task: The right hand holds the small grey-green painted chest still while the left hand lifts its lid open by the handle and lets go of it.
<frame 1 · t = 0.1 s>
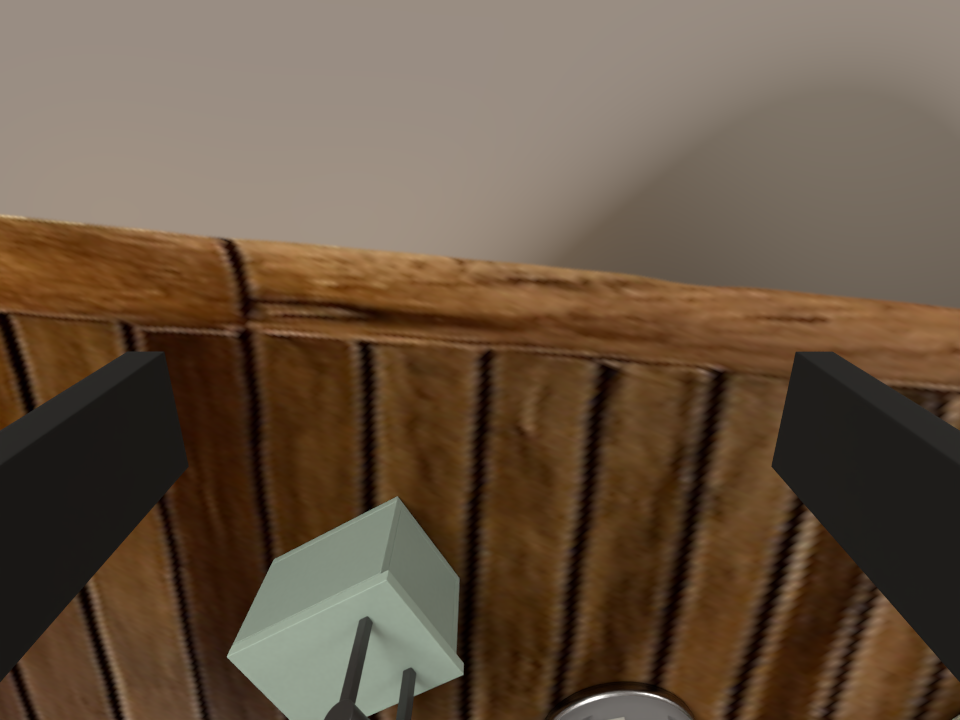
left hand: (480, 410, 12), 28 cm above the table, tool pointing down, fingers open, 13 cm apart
lid: (333, 715, 36), point 13 cm above the table, hinge at 0.0°
chest: (367, 568, 49), on the table
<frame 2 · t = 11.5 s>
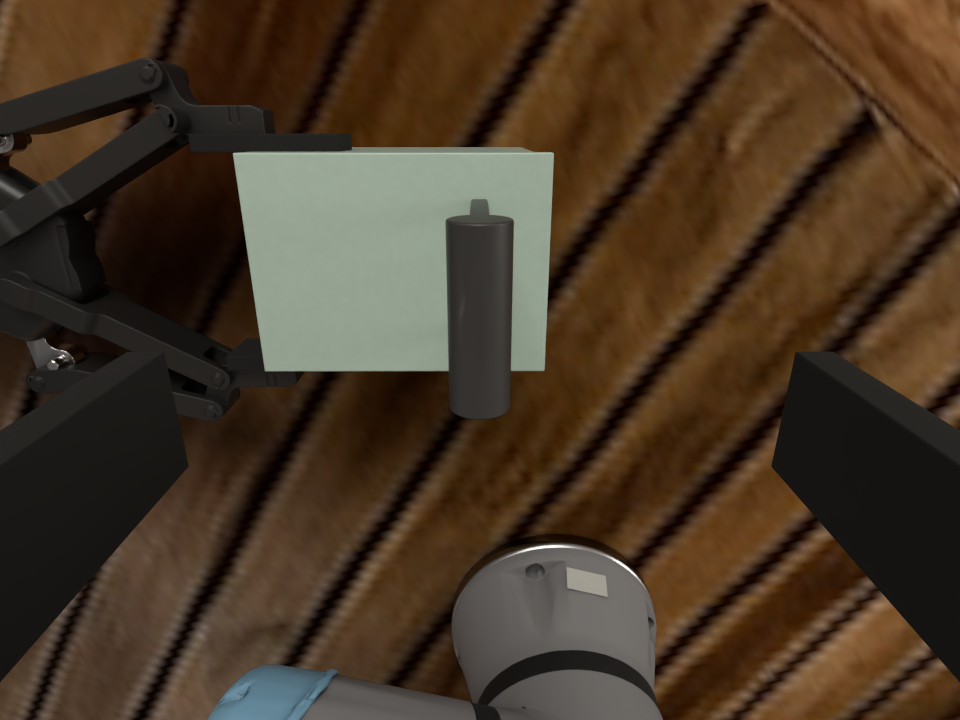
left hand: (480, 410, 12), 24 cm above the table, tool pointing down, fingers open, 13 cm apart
right hand: (354, 255, 28), fingers closed on chest, 10 cm apart
lid: (387, 290, 22), point 13 cm above the table, hinge at 0.0°
chest: (414, 233, 34), on the table, touching right hand
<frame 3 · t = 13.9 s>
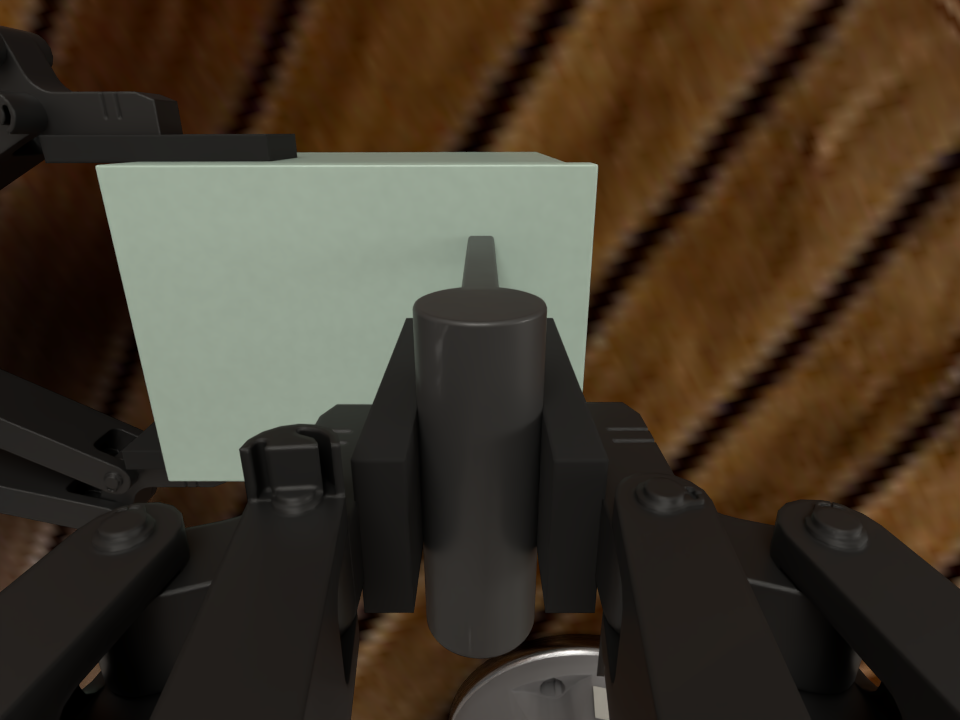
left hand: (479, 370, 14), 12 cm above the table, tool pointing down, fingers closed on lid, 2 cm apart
lid: (329, 392, 13), point 13 cm above the table, hinge at 0.4°, touching left hand
chest: (394, 266, 26), on the table, touching right hand
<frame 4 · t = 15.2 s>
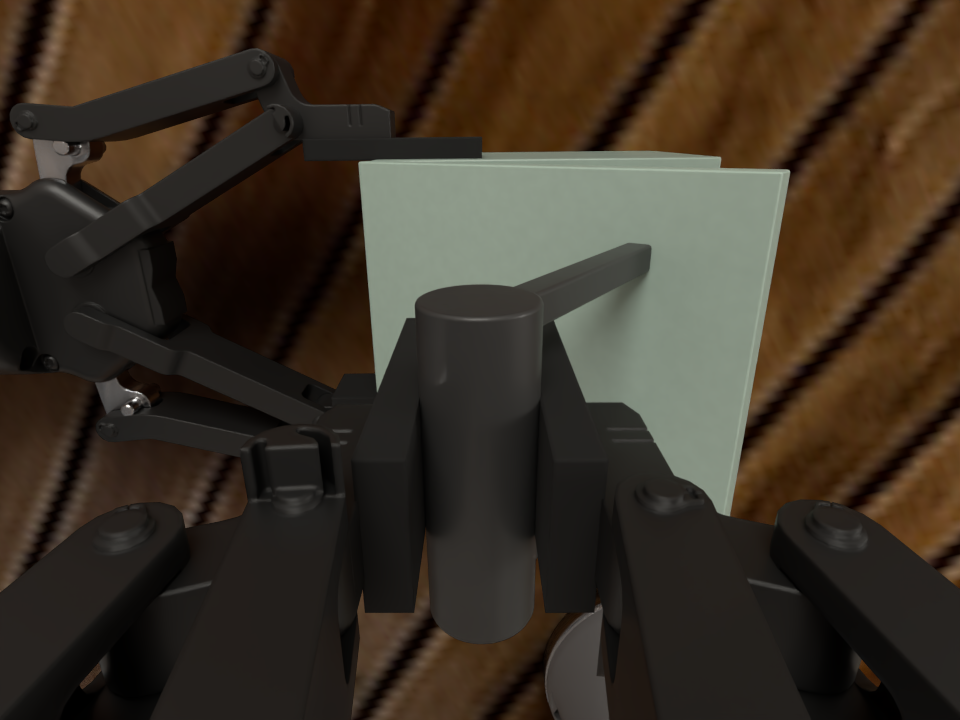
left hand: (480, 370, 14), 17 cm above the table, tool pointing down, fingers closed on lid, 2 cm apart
right hand: (482, 278, 24), fingers closed on chest, 10 cm apart
lid: (448, 367, 15), point 16 cm above the table, hinge at 35.7°, touching left hand
chest: (524, 249, 30), on the table, touching right hand
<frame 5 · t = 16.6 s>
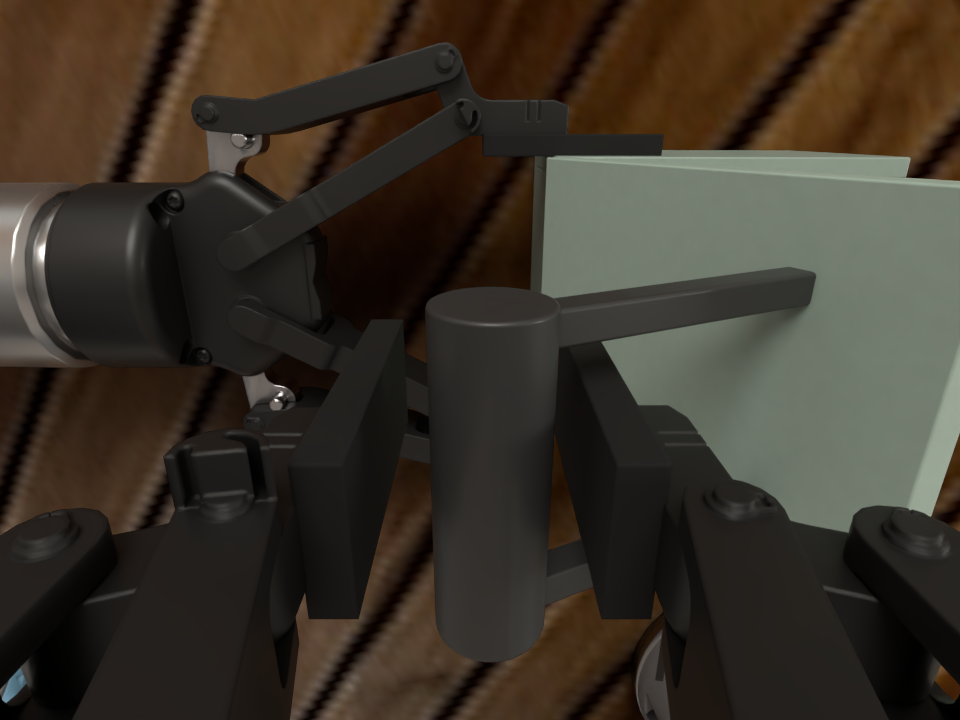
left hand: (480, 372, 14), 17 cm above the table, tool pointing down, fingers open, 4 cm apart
right hand: (638, 277, 24), fingers closed on chest, 10 cm apart
lid: (554, 373, 14), point 17 cm above the table, hinge at 64.1°
chest: (651, 248, 30), on the table, touching right hand
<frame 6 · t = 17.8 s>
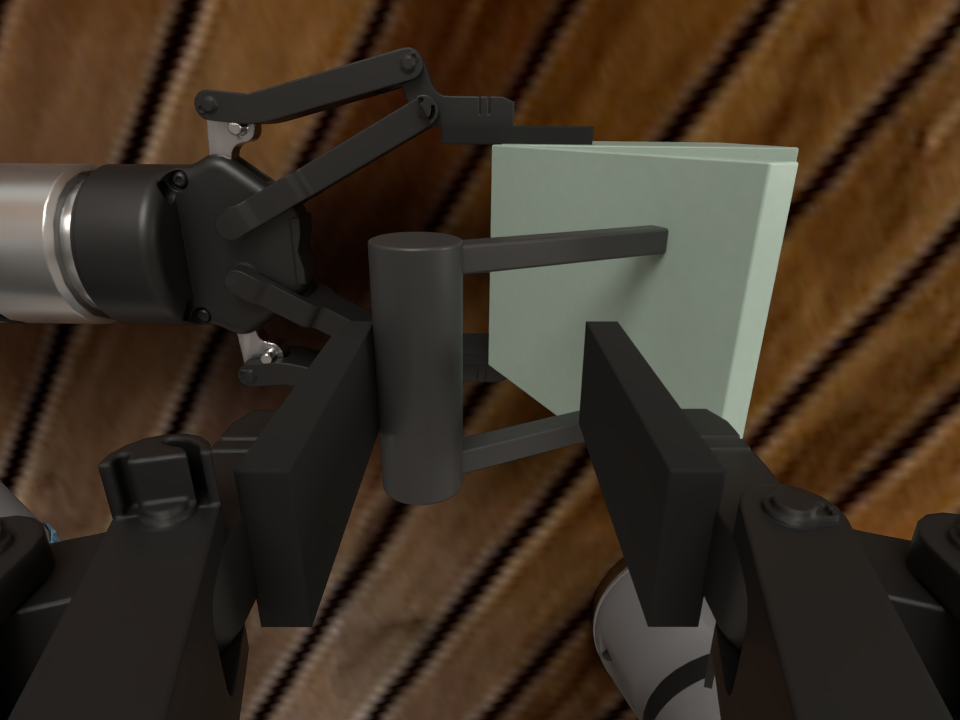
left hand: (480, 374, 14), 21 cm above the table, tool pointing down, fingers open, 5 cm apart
right hand: (579, 250, 28), fingers closed on chest, 10 cm apart
lid: (484, 313, 18), point 17 cm above the table, hinge at 63.3°, touching left hand
chest: (600, 229, 34), on the table, touching right hand
when the right hand's fingers open (6 cm above the table, at t = 20.9 s): chest stays where it is, on the table.
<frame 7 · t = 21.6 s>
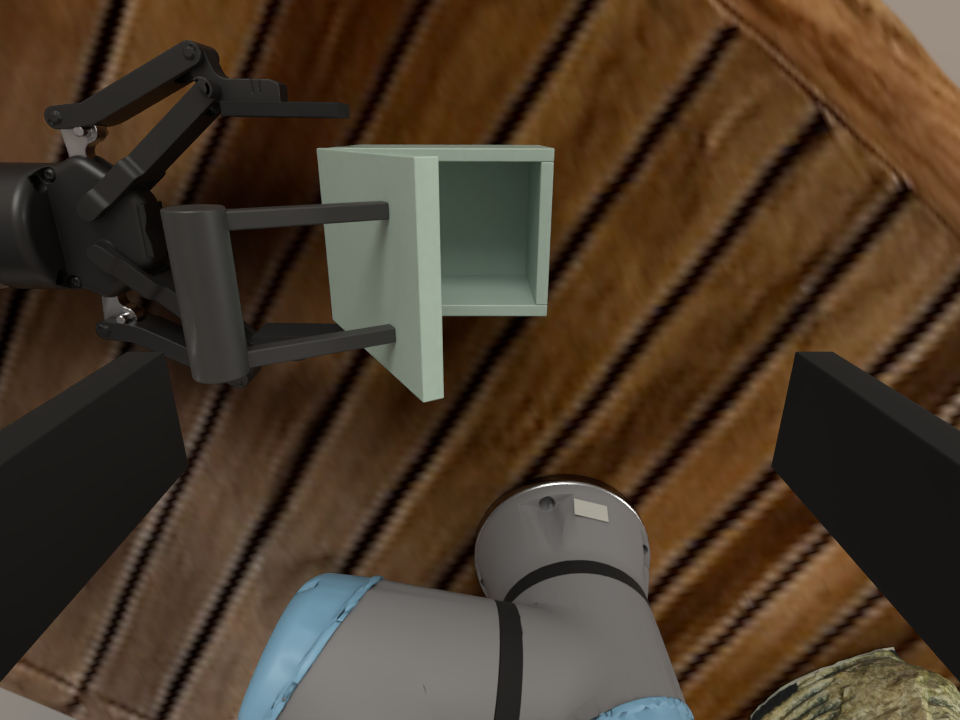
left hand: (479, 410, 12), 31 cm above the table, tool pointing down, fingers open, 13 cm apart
right hand: (353, 231, 36), fingers open, 13 cm apart
lid: (285, 267, 26), point 17 cm above the table, hinge at 60.6°
fossil: (830, 687, 59), on the table
chest: (450, 216, 42), on the table
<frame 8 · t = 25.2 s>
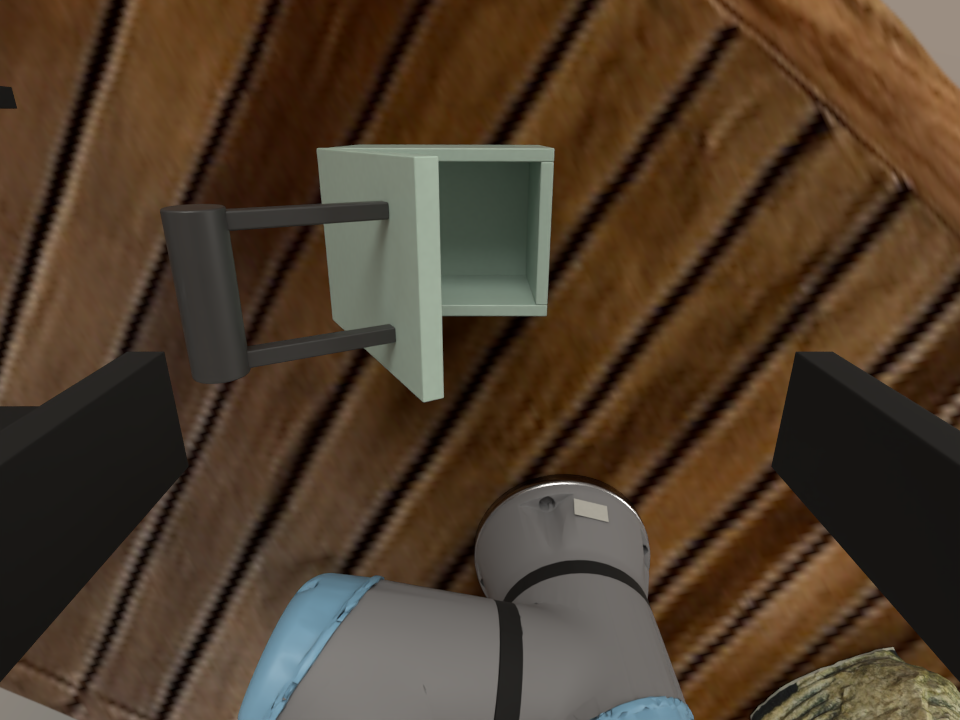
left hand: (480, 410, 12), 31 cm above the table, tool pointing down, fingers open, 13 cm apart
lid: (285, 267, 26), point 17 cm above the table, hinge at 60.6°
fossil: (830, 687, 59), on the table
chest: (450, 216, 42), on the table
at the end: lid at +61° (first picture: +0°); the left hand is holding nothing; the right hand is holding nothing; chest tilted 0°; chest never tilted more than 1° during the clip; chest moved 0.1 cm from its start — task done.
